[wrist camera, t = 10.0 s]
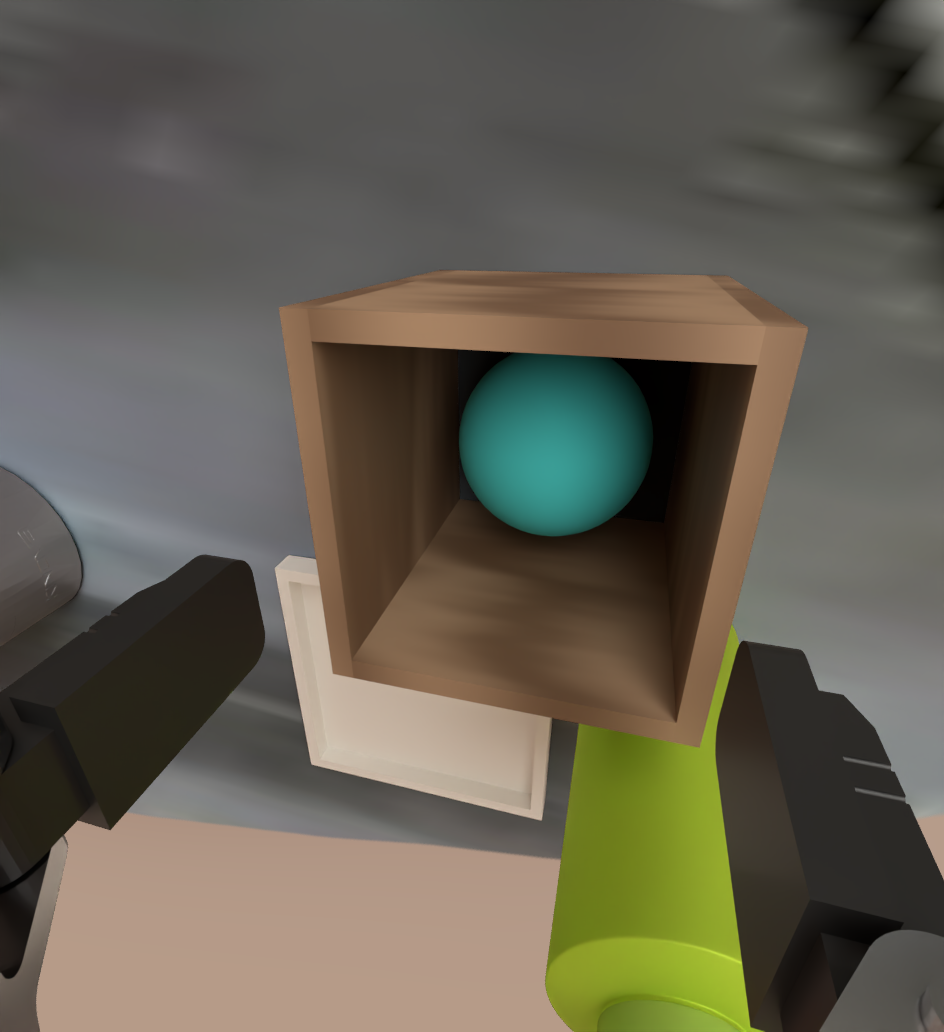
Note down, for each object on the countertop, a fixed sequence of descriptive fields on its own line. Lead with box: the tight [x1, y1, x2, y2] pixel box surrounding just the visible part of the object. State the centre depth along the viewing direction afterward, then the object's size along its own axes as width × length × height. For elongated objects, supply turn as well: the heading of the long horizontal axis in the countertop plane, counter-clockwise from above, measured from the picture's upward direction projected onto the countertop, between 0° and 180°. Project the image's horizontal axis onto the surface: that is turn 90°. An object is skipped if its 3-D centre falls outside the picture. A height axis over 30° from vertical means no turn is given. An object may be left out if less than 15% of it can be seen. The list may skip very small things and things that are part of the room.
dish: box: [275, 555, 552, 821], centre depth 28 cm, size 13×13×1 cm
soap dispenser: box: [545, 625, 764, 1032], centre depth 15 cm, size 6×7×20 cm
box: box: [279, 270, 808, 748], centre depth 16 cm, size 10×9×10 cm
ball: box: [459, 352, 653, 536], centre depth 18 cm, size 6×6×6 cm
